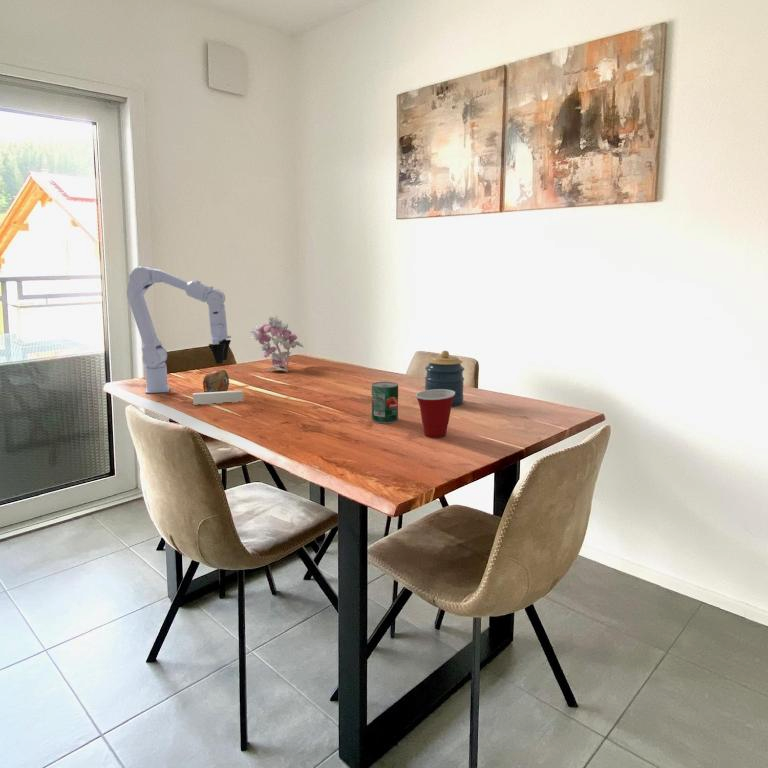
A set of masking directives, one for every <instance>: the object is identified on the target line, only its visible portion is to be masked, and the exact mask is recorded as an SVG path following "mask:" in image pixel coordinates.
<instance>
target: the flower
mask: <svg viewBox="0 0 768 768" xmlns="http://www.w3.org/2000/svg"><path fill="white" fill-rule="evenodd" d="M278 318H279V316H277V315H275V317H274V316H273V317H272V316H270V317H268V323H266V324H265V323H264V324H261V325H260V326H259V325H257V324H255V325H253V327H252V329H251V330H249V333H251V338H250V339H254V341H258V343H259V344H260V345H262V346H261V347H260V349H261V351H263V352H264V353H263V357H264V358H268V357H271V359H270V364H271V365H272V366H271V367H268V369H267V371H266V372H268V371H270V370H277V371H280V372H286V373H289V371H288V366H289V363H290V354H291V355H292V354H293V353H292V352H290V349H291V348H292V349H295V348H296V347H297V346H298V347H302V348H304V345H303V344H301V343H300V342H299V341H298V336H297V335H296V333H294V332H292V331H291V330H290V329H289V324H288V323H286V324H285V323H284V322H283V321H282V320H280V319H278ZM268 333H270V335H271V336H270V335H269V334H268ZM270 341H272V342H273V344H274V346H271V343H270ZM279 343H280V346H282V347H283V349H284V350H283V351H281V348H280V347H279ZM285 350H286V351H285ZM276 351H278V353H276ZM270 355H271V356H270ZM282 367H283V368H282Z"/></svg>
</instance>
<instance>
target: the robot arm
mask: <svg viewBox="0 0 768 768" xmlns="http://www.w3.org/2000/svg"><path fill="white" fill-rule="evenodd" d="M128 279H129V280H128V284H127V289H126V296H127V299H128V302H129V305H130V308H131V311H132V314H133V318H134V321H135V323H136V324H135V325H136V327H137V330H138V333H139V335H140V338H141V341H142V345H141V351H142V358H141V359H142V362H143V363H144V370H145V383H146V385H145V386H146V388H145V392H144V393H145V394H156V393H169V392H170V385H168V384H169V383H168V371H167V370H168V369H167V368H168V367H167V363H166V361H167V359H168V351H167V350H166V348H164V346H163V344H162V342H161V340H159V338H158V336H157V331H156V329H155V328H154V327H155V326H154V324H153V321H152V318H151V315H150V311H149V308H148V305H147V302H146V299H145V296H144V295H145V294H146V292H147V291H148V289H149V288H150V287H151V286H153V285H154V284H155V283H164V284H166V285H170V286H171V287H175V288H177V289H179V290H182V291H185V293H186V296H188V297H190V298H193V299H195V300H197V301H200V302H203V303H206V304H207V305H208V317H209V318H208V319H209V329H210V340H211V343H209V344H208V348H209V349H210V351H211V353H212V355H213V358H214V361H215V363H216V365H219V364H223V362H224V361H227V360H228V353H229V348H230V347H229V346H230V344H231V338H232V336H231V335H228V326H227V316H226V315H227V314H226V309H225V307H226V306H225V301H226V295H225V293H224V292H223V291H222V290H220V289H216V288H215V289H214V286H208V285H205V284H203V283H201V281H200V280H199V279H198V280H191V281H189V282H188V281H186V280H184V279H183V278H180V277H177V276H176V275H174V274H171V273H169V272H167V271H165V270H162V269H158V268H153V267H151V266H137V267H135V268H134V269H133V270H132V271H131V273H130V274H129V275H128Z"/></svg>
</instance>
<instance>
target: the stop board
mask: <svg viewBox="0 0 768 768" xmlns="http://www.w3.org/2000/svg"><path fill="white" fill-rule="evenodd" d="M192 401H193V402H192V403H193V406H198V404H201V405H212V403H216V404H224V403H223V402H232V403H237V402H236V401H243V402H244V391H243V390H240V389H239V390H227V391H223V392H206V393H204V392H194V393H192Z"/></svg>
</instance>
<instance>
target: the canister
mask: <svg viewBox="0 0 768 768" xmlns="http://www.w3.org/2000/svg"><path fill="white" fill-rule="evenodd" d="M440 354H441V355H435V356H432V357H431V358H429V359H428V360H427V363H428V364H427V365H426V366H425V367H424V369H425V371H426V375H425V377H424V382H425V384H424V385H425V387H424V391H425V390H433V389H447V390H452V391H454V392H455V395H454V397H453V401H452V405H451V407H457V406H461V405H462V404H464V403H463V401H464V381H465V378H464V376H463V375H464V374H463V372H464V371H465V367H463V365H462V363H463V360H461V359H460V358H459V357H457V356H454V355H450V353H449V351H448V350H443V351H441V353H440Z"/></svg>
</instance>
